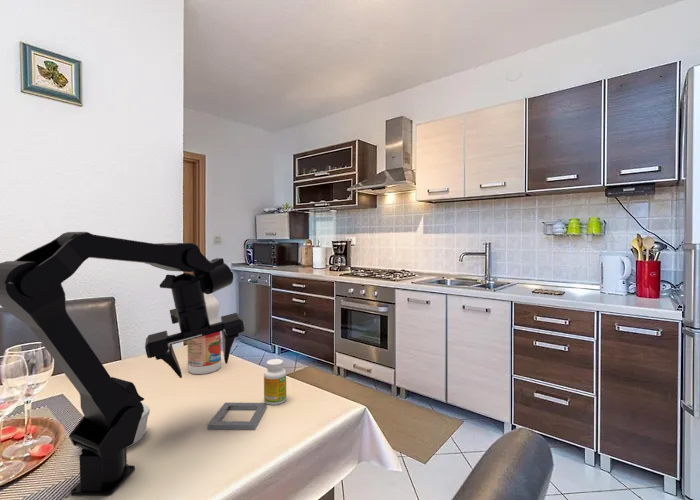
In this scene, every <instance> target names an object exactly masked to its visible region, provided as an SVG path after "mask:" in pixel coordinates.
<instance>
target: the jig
mask: <svg viewBox="0 0 700 500" xmlns="http://www.w3.org/2000/svg"><path fill="white" fill-rule="evenodd" d="M267 408H268V404H267V403H265V402H224V403H223V405H222V406H221V407H220V408H219V410H218V411H217V412H216V413H215V414H214V416H213V417H212V418H211V420H209V422H208V423H207V424H206V425H207V427H206V428H207V430H213V431H215V430H218V431H220V430H226V431H227V430H229V431H230V430H232V431H234V430H235V431H236V430H237V431H239V430H240V431H242V430H243V431H252V430H253V431H255V430H256V429H257V426H258V425H259V423H260V421H261V419H262V417H263V415H264V413H265V411H266V410H267ZM229 411H255V412H254V413H253V416H252V417H251V419H250V420H249V421H248V420H247V421H245V420H244V421H243V420H242V421H241V420H240V421H237V420H235V421H234V420H233V421H232V420H230V421H229V420H227V421H226V420H225V421H224V420H223V418H225V416H226V415H227V414H228V412H229Z"/></svg>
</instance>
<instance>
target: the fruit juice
mask: <svg viewBox="0 0 700 500" xmlns="http://www.w3.org/2000/svg"><path fill="white" fill-rule="evenodd" d="M204 298H205V303H206V308H207V313H208V318H209V323H210V325H211V324H215V323H219V322H221V318H220V317H219V312H220V308H221V306H220V302H219V300H218V299H217V297H215V295H214V292H213V293H211V294H205V293H204ZM221 335H222V332H221V331H220V332H216V333H213V334H209V335H205V336H202V337H198V338H194V339H191V340H187V341H186V342H187V370H188V372H189V373H190V374H193V375H206V374H211V373H214V372H216V371H218V370H220V368H221V366H222V348H221V347H222V342H221V341H222V340H221V339H222V338H221Z"/></svg>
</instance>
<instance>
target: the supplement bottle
mask: <svg viewBox="0 0 700 500" xmlns="http://www.w3.org/2000/svg"><path fill="white" fill-rule="evenodd" d="M286 400H287V371H286V369H285V368H284V360H283V359H279V358H273V359H268V360H267V361H266V370H264V372H263V401H264V403H267V405H273V406H276V405H280V404H282V403H283V404H284V403H285V402H286Z"/></svg>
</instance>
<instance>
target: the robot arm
mask: <svg viewBox="0 0 700 500" xmlns="http://www.w3.org/2000/svg"><path fill="white" fill-rule="evenodd" d="M87 259H99V260H110V261H111V260H112V261H120V262H121V261H122V262H132V263H143V264H147V265H150V266H152V267H154V268H157V269H160V270H164V271H167V272H168V271H169V272H181V274H177V275H175V274H166V275H165V278H164V279H163V280H162V281H161V282H160V284H159V288H160V289H169V290H170V289H171V294H172V298H173V304H174V308H173V309H169V314H170V319H171V323H172V324H173V325H174V324H178V326H179V329H180V330H179V331H180V332H177V333H174V334H170V335H169V334H168V331H167V330H163V331H159V332H155V333H152V334H148V335H147V337H146V338H145V344H144V345H145V346H144V348H145V349H144V350H145V353H146V358H147V359H152V358H155V360H156V361H157V360H162V361H163V362H164V363H165V364H167V365H168V366H169V367H170V368H171V369H172V371H174V373H175V374H176V375H177V376H178V377H179V378H180V379H181V378H183V374H182V368H181V366H180V364H179V361H178V358H177V355H176V353H175V351H174V350H175V349H174V348H173V345H175V344H179V343H183V342H187V340H191V339H194V338H198V337H202V336H205V335H209V334H213V333H216V332H220V333H221V335H222V338H221V339H222V350H223V351H222V352H223V353H222V354H223V361H224V364H225V365H227V364H228V362H229V358H230V353H231V349H232V346H233V344H234V342H235V339H236V338H239V336H240V334H241V333H243V332H245V326H244V321H243V319H242V317H241V315H240V314H239V313H237V312H234V313H230V314H225V315H222V316H220V322H219V323H215V324H211V325H210V323H209V318H208V313H207V308H206V303H205V298H204V293H205V294H211V293H213V294H214V293H216V292H218V291H220V290H222V289H224V288H226V287H229V286H231V284H232V283H233V281H234V273H233V271H232V269H231V268H230V267H229V266H228V265H227V264H226V263H225V262H224V258H221V257H220V258H218V257H216V258H213V259H211V260H209V259H208V258H207V257H206V256H205V255H204V254H203V253H202V252H201V250H200V248H199V245H197V244H196V243H192V242H163V243H162V242H161V243H160V242H159V243H157V242H156V243H154V242H153V243H152V242H146V241H138V240H134V239H133V240H132V239H127V238H126V239H125V238H119V237H118V238H117V237H112V236H107V235H106V236H105V235H99V234H93V233H91V232H88V231H67V232H64V233H62V234H60V235H59V236H57V237H56V238H54V239H53V240H51V241H50V242H47V243H46V244H43V245H41V246H40V247H37V248H35V249H33V250H31V251H29V252H27V253H24V254H23V255H21V256H19V257H18V258H16V259H15V260H7V261H3V262H0V307H1V308H3V309H4V311H6V312H8V313H10V314H11V315H12V316H14V317H15V318H17V319H18V320H20V321H21V322H23V323H24V324H26V326H28V327H29V329H31V331H32V332H33V333H34V335H35V336H36V338H37V339H38V340H39V342H40V343H41V344H42V345H43V347H44V348H45V349H46V351H47V352H48V353H49V355H50V356H51V358H52V359H53V360H54V362H55V363H56V364H57V365H58V367H59V368H60V369H61V370H62V372H63V374H64V375H65V376H66V378H67V379H68V380H69V381H70V383H71V384H72V386H73V387H74V388H75V389H76V391H77V392H78V394H79V398H80V410H81V412H82V414H83V417H82V418H81V419H80V421H79V422H78V423H77V425H76V426H75V427H74V428H73V429H72V430H71V432H70V433H69V435H68V438H69V440H70V442H71V444H72V445H73V446H75V447H79V448H80V449H81V454H79V456H78V458H79V459H78V460H79V461H78V462H79V482H78V484H76V485H75V486H74V487H73V488H72V489H70V495H75V496H76V495H78V496H80V495H81V496H88V495H89V496H109V495H111V494H114V492H115V491H116V489H117V488H119V487H120V486H121V484H122V483H123V482H124V481H126V479H127V478H128V477H129V476H130V475H131V474H132V473H133V472H134V471H135V470H136V466H135V465H127V464H128V463H127V462H128V461H127V458H128V457H127V448H129V447H128V446H130V445H132V444H133V442H134V439H135V435H136V432H137V428H138V425H139V422H140V419H141V417H142V413H143V412H144V407H143V404H144V403H143V401H144V400H145V398H144V397H142V396H141V395H140V394H139V393H138V390H137V387H136V385H135V384H134V383H133V381H132V382H131V381H128V380H124V379H121V378H117V377H113V376H110V374H109V372H108V371H107V369H106V368H105V366H104V365H103V363H102V362H101V361H100V359H99V358H98V357H97V355H96V353H95V352H94V350H93V349H92V347H91V346H90V345H89V342H87V340H86V338H85V337H84V335H83V334H82V332H81V331H80V330H79V328H78V327H77V325H76V324H75V322H74V321H73V320H72V318H71V316H70V315H69V313H68V311H67V301H66V298H67V297H66V292H65V290H64V287H63V285H62V283H64V282H65V281H66V280H67V279H69V278H71V277H72V276H73V275H74V274H75V273H76V272H77V270H78V269H79V268H80V267H81V266H82V264H83V263H84V262H85V261H86V260H87ZM182 272H183V273H182ZM191 272H192V273H191ZM142 403H143V404H142ZM133 445H134V444H133ZM133 445H132V446H133ZM126 447H127V448H126ZM130 447H131V446H130Z"/></svg>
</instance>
